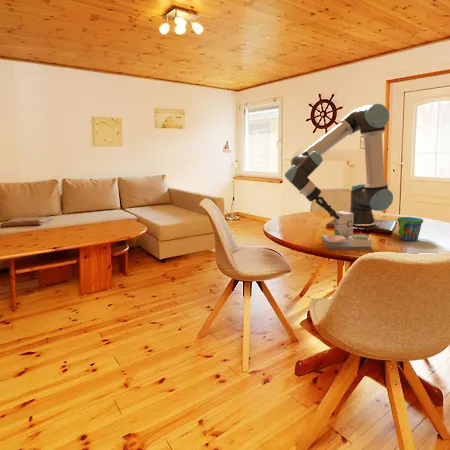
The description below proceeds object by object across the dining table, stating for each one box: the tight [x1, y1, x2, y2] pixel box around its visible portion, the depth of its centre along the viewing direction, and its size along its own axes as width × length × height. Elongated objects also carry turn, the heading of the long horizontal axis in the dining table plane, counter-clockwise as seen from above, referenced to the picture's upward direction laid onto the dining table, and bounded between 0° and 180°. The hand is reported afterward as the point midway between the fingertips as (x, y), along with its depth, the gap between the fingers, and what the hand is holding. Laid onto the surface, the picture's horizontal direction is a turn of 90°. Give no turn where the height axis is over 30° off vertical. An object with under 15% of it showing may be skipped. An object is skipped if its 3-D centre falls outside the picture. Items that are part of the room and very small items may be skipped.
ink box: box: [333, 210, 354, 235], centre depth 181 cm, size 8×5×12 cm, turn 24°
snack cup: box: [396, 216, 424, 242], centre depth 169 cm, size 16×10×10 cm
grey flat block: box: [320, 234, 372, 250], centre depth 166 cm, size 18×21×4 cm
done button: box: [352, 234, 369, 239], centre depth 159 cm, size 6×6×2 cm
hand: (340, 220), depth 181 cm, fingers open, 13 cm apart
